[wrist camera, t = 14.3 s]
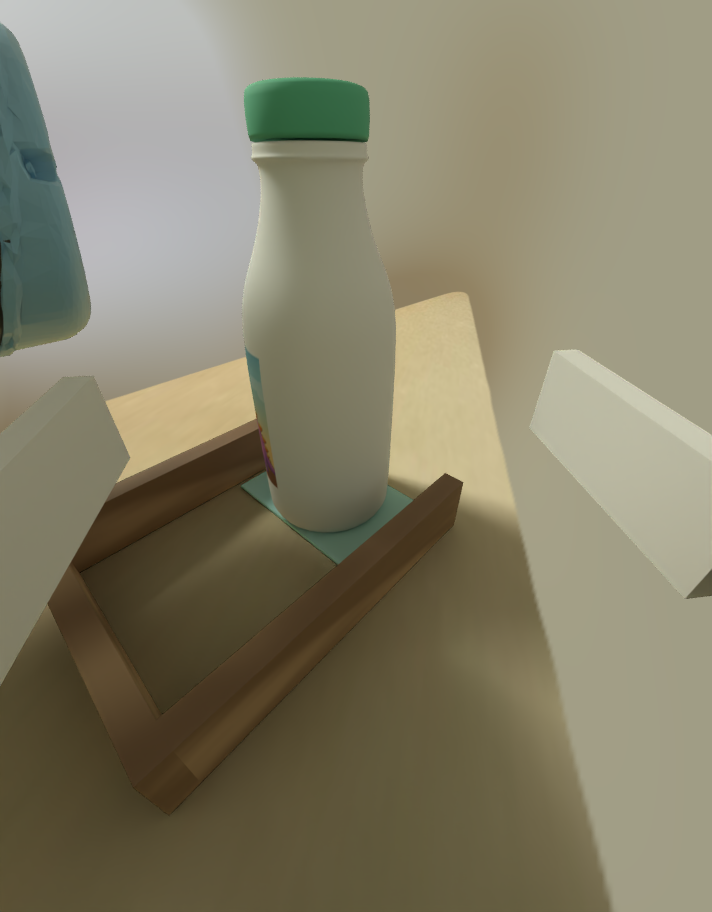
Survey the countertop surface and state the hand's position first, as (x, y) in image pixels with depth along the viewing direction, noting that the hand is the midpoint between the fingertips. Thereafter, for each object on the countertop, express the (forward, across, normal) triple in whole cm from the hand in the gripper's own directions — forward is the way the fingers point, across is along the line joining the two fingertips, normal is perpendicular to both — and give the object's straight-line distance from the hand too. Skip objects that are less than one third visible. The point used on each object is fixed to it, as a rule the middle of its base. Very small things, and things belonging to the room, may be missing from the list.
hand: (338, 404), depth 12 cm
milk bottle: (+9, 0, -12) cm, 15 cm away
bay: (+6, -4, -12) cm, 14 cm away
